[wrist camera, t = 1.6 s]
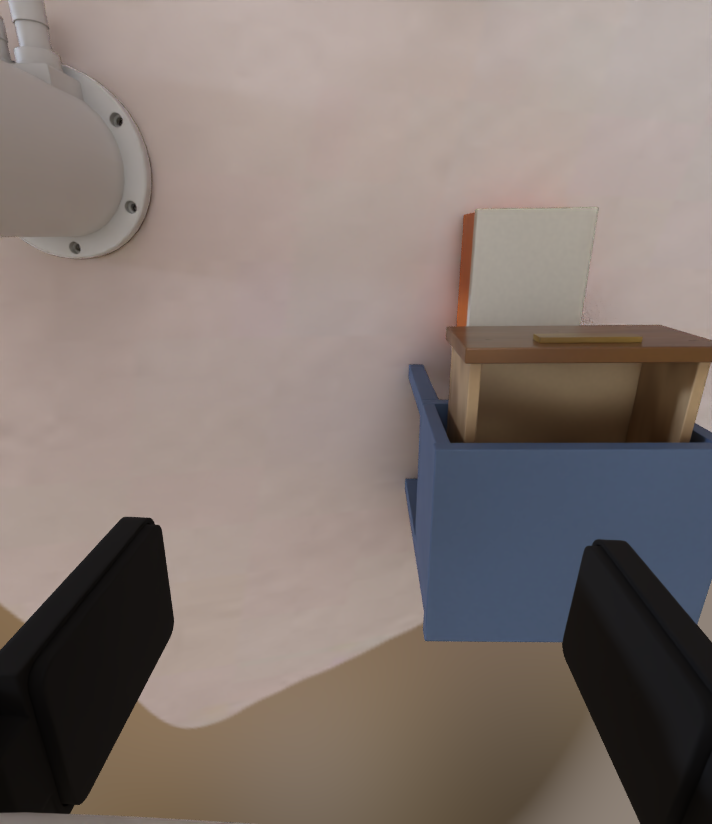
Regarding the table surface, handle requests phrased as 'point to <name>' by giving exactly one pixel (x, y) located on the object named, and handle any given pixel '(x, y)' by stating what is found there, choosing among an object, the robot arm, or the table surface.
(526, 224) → the storage box
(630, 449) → the drawer unit
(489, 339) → the drawer
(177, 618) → the table surface
